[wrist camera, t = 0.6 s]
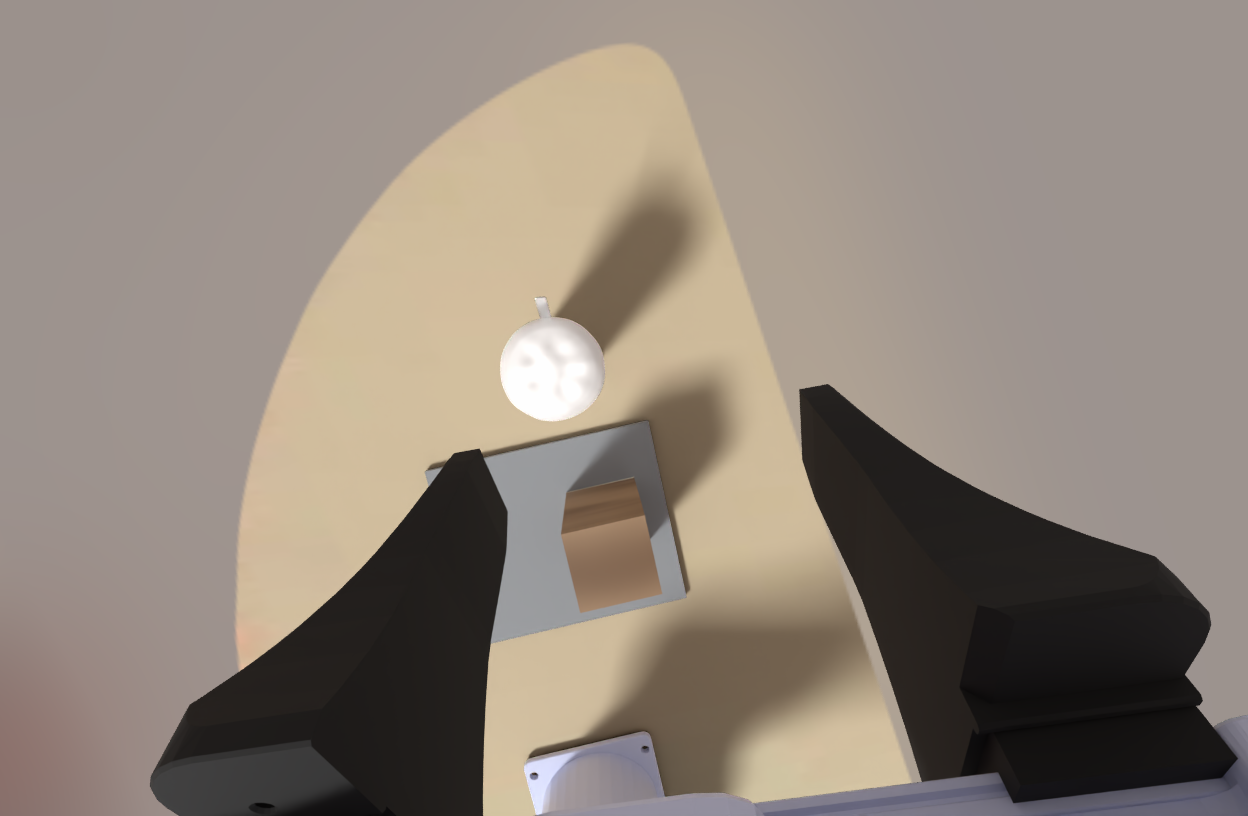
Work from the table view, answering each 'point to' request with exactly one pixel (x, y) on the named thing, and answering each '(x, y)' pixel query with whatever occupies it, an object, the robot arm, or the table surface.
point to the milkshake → (552, 367)
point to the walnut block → (608, 545)
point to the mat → (535, 515)
